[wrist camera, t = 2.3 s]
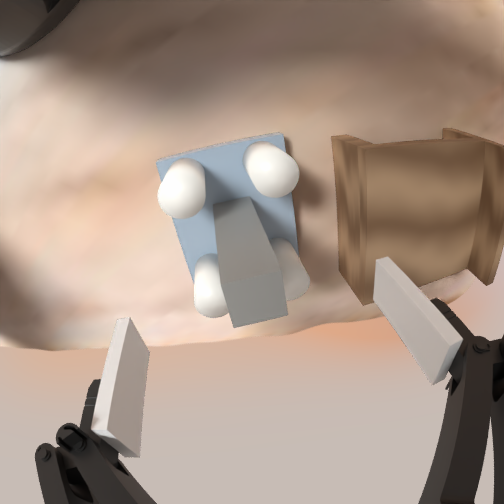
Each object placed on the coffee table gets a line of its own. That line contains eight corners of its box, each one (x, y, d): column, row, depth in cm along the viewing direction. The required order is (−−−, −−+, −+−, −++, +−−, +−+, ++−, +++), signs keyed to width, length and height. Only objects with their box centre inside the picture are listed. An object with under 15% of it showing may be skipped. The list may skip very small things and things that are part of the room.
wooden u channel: (331, 136, 23) (393, 161, 15) (451, 128, 24) (518, 151, 16) (338, 270, 30) (380, 331, 22) (443, 240, 31) (492, 282, 23)
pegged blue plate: (158, 158, 22) (118, 217, 12) (278, 131, 23) (345, 166, 12) (195, 278, 29) (196, 384, 18) (295, 255, 29) (344, 349, 18)
